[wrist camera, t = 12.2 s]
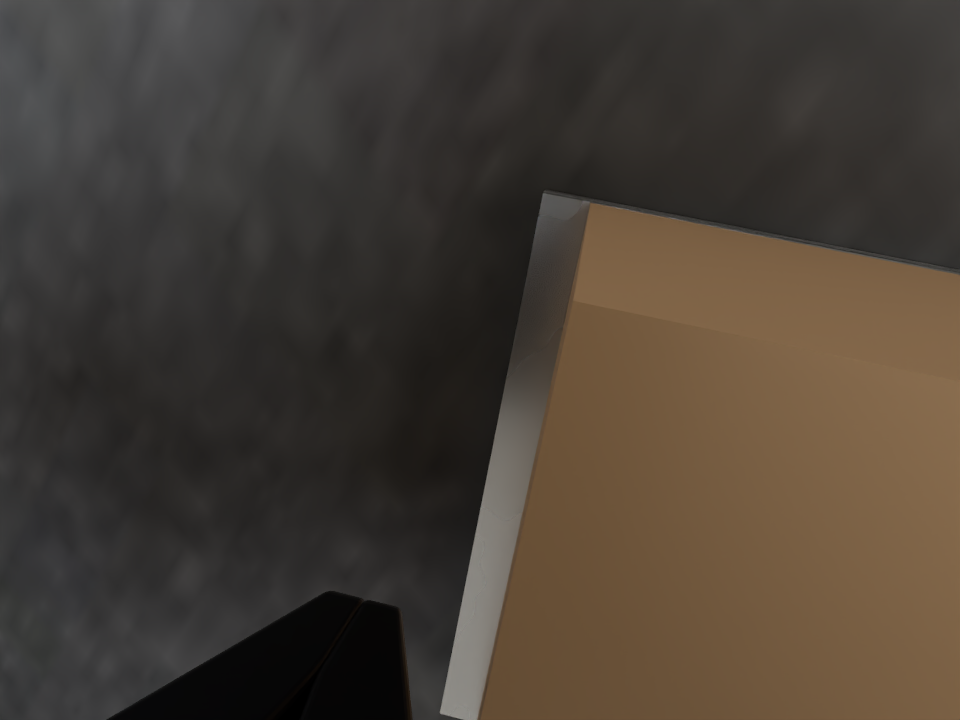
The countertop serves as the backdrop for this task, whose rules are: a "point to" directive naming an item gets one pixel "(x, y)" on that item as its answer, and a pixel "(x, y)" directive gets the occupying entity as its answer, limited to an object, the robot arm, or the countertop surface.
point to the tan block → (739, 488)
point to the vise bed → (534, 429)
